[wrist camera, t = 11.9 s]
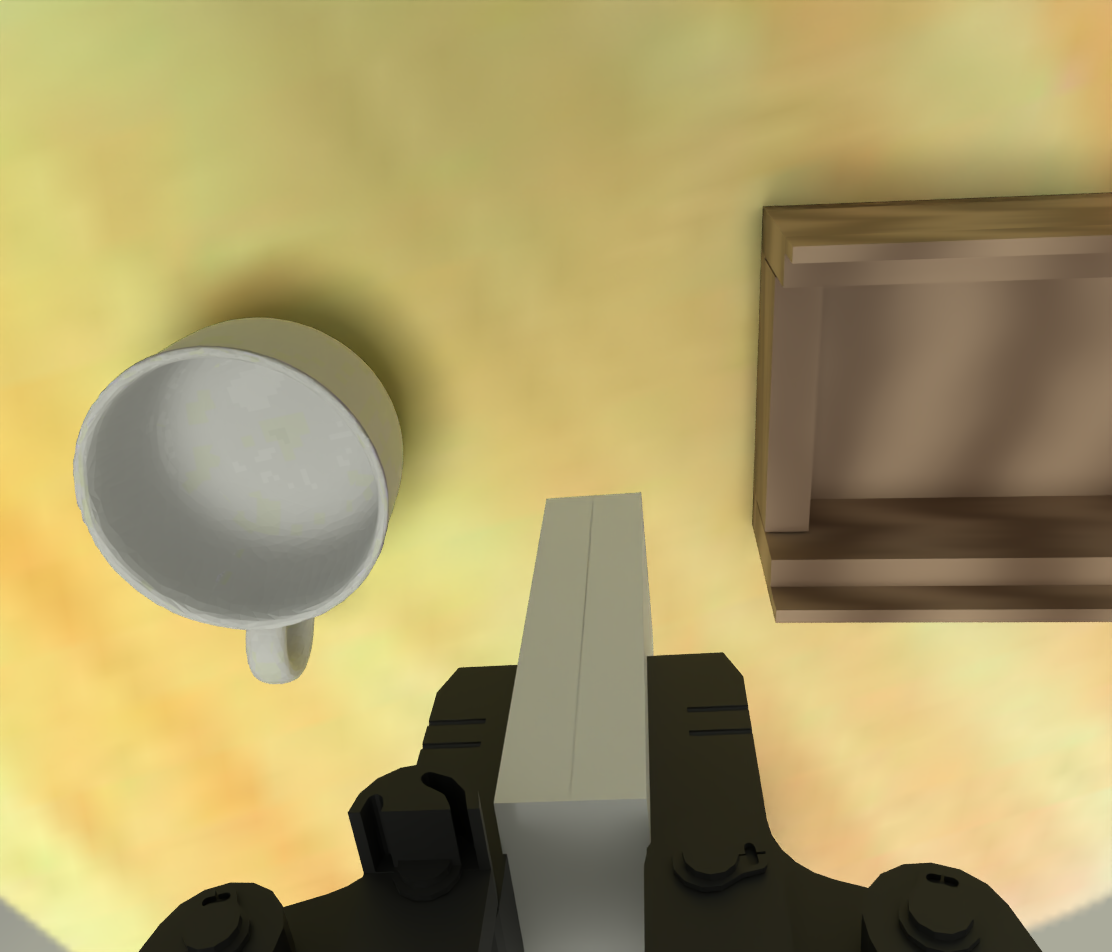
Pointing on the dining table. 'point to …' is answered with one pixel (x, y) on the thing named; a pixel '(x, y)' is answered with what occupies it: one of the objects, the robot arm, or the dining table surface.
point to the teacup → (243, 481)
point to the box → (936, 410)
